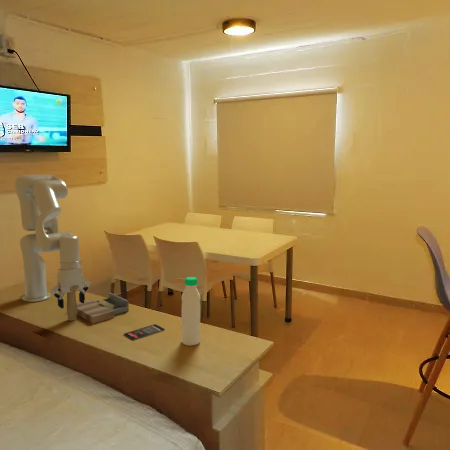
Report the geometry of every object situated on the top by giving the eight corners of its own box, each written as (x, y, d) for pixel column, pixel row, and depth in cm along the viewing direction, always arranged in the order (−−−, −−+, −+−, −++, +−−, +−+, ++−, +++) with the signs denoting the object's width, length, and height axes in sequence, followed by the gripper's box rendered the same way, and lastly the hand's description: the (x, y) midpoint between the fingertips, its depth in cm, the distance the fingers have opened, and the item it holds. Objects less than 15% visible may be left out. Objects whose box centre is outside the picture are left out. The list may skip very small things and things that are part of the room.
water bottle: (183, 347, 151) (183, 281, 147) (179, 339, 158) (179, 276, 154) (202, 345, 153) (202, 280, 149) (197, 337, 160) (198, 274, 156)
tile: (98, 302, 186) (100, 298, 186) (106, 306, 189) (108, 302, 190) (104, 305, 183) (106, 301, 183) (112, 309, 186) (114, 305, 187)
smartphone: (122, 333, 161) (155, 323, 171) (122, 335, 161) (155, 325, 171) (132, 340, 156) (165, 329, 166) (132, 341, 156) (165, 331, 166)
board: (70, 311, 185) (70, 304, 184) (91, 305, 192) (91, 299, 191) (92, 323, 171) (92, 317, 170) (114, 317, 178) (114, 310, 177)
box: (94, 306, 190) (93, 296, 190) (110, 302, 196) (109, 292, 195) (112, 316, 179) (112, 305, 179) (128, 311, 185) (128, 300, 184)
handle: (68, 316, 178) (66, 283, 175) (82, 318, 177) (80, 284, 174) (62, 321, 173) (60, 287, 170) (76, 322, 172) (75, 288, 169)
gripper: (85, 259, 180) (86, 298, 183) (45, 266, 167) (47, 307, 170) (93, 263, 175) (95, 302, 177) (53, 270, 162) (55, 312, 165)
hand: (71, 304), depth 174 cm, fingers open, 8 cm apart
